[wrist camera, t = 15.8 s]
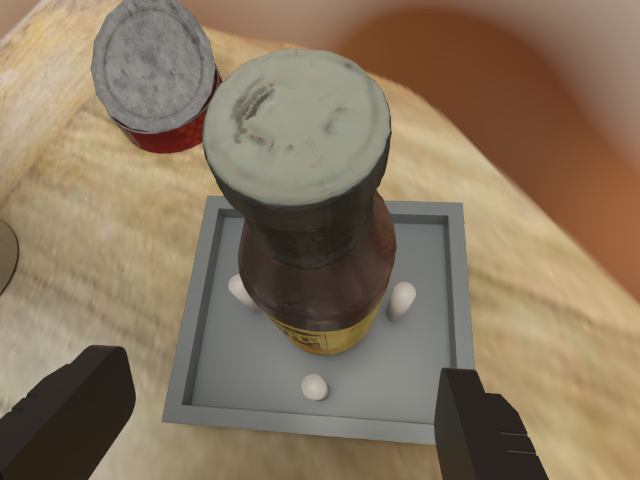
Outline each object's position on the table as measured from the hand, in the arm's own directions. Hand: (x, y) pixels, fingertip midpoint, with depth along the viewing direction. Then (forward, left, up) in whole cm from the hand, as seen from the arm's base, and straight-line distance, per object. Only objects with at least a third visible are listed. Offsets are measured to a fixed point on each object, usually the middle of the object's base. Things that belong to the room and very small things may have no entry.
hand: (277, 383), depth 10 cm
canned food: (-15, +24, -18) cm, 33 cm away
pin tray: (0, +6, -17) cm, 18 cm away
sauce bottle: (0, +5, -16) cm, 17 cm away
